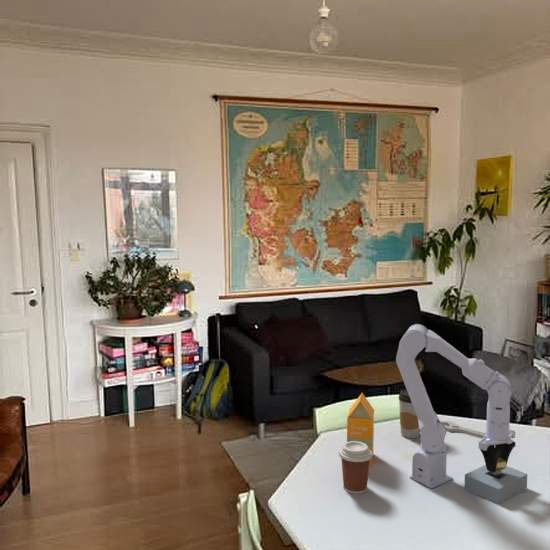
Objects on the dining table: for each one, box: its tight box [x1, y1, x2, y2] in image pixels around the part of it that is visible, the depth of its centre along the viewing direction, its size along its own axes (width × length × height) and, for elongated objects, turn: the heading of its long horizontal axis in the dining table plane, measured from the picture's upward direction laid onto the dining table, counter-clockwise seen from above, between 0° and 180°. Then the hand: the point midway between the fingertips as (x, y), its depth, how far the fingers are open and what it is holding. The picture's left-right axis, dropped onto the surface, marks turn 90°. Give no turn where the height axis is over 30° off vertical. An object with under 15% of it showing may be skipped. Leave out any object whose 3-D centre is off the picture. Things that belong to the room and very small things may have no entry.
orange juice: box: [346, 392, 375, 467], centre depth 160 cm, size 8×9×20 cm
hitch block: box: [463, 464, 528, 505], centre depth 143 cm, size 14×10×4 cm
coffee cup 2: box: [398, 389, 421, 439], centre depth 179 cm, size 8×8×15 cm
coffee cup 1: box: [338, 441, 372, 495], centre depth 143 cm, size 9×9×12 cm
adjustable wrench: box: [440, 420, 486, 439], centre depth 179 cm, size 25×6×2 cm, turn 43°
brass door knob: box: [490, 457, 507, 479], centre depth 142 cm, size 5×5×6 cm
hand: (496, 468), depth 142 cm, fingers closed on brass door knob, 4 cm apart
